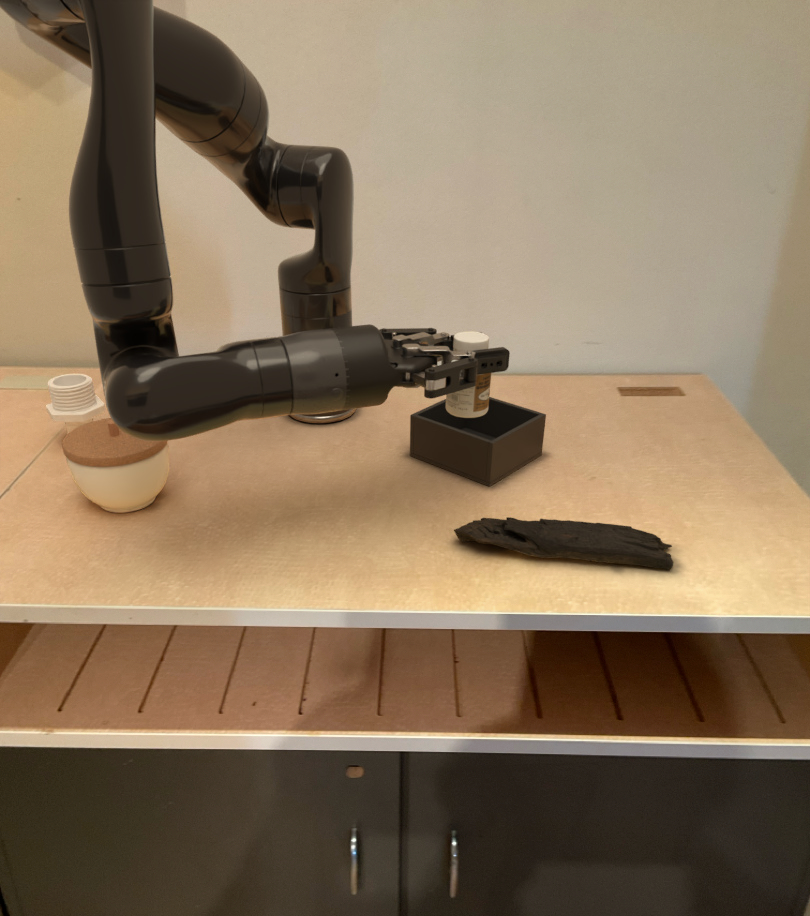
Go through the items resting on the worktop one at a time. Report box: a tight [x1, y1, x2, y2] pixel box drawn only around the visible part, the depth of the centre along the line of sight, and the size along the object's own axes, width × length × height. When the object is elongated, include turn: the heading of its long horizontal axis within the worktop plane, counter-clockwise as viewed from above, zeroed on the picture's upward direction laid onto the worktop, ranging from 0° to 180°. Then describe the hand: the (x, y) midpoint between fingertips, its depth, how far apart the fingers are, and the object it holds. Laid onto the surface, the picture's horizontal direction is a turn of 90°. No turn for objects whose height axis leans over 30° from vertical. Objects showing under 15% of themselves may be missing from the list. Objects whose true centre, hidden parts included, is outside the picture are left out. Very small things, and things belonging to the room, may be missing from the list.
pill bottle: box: [445, 331, 492, 418], centre depth 79 cm, size 4×4×8 cm
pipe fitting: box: [45, 373, 107, 435], centre depth 99 cm, size 6×7×8 cm
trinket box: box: [61, 417, 170, 514], centre depth 86 cm, size 11×11×9 cm
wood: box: [453, 516, 675, 570], centre depth 80 cm, size 22×7×3 cm, turn 83°
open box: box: [409, 396, 547, 487], centre depth 97 cm, size 12×11×6 cm
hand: (494, 350), depth 79 cm, fingers closed on pill bottle, 4 cm apart
